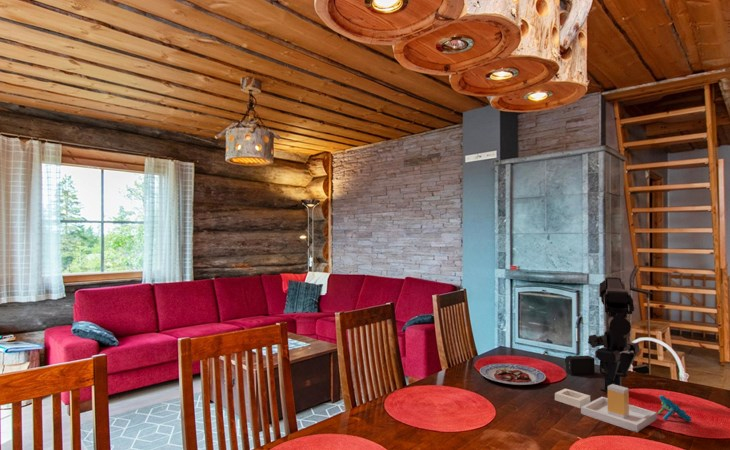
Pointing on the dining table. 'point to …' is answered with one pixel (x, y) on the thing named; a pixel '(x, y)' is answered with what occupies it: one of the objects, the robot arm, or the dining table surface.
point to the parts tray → (633, 422)
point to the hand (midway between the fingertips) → (617, 377)
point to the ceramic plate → (512, 374)
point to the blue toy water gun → (672, 409)
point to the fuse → (618, 401)
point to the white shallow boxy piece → (572, 398)
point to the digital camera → (580, 365)
